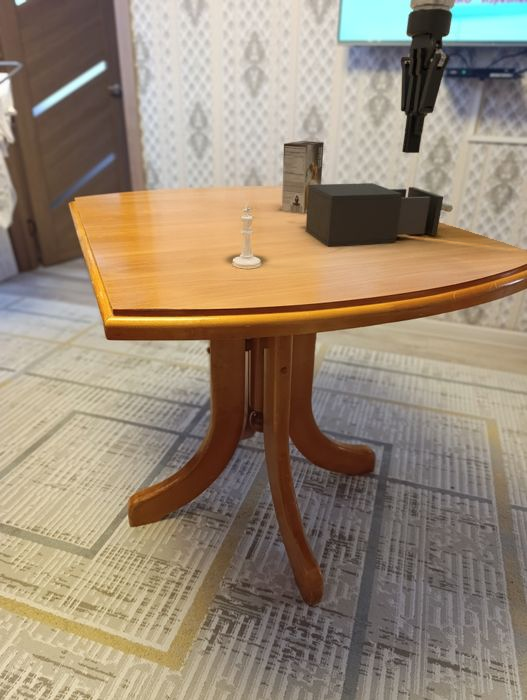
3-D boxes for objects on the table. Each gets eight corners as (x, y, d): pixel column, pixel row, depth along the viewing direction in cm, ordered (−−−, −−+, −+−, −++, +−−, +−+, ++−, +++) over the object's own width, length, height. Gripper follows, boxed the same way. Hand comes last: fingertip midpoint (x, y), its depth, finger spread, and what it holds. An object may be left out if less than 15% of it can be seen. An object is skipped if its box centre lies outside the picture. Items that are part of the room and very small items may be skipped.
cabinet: (367, 228, 113) (372, 183, 108) (395, 243, 102) (402, 193, 98) (305, 231, 109) (308, 184, 105) (327, 246, 98) (332, 195, 94)
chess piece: (226, 264, 87) (225, 204, 82) (246, 258, 90) (246, 200, 86) (247, 270, 84) (247, 209, 80) (266, 264, 87) (268, 205, 83)
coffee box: (297, 207, 131) (300, 140, 124) (320, 210, 129) (324, 142, 121) (280, 213, 124) (283, 142, 117) (304, 216, 121) (308, 144, 114)
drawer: (424, 222, 115) (430, 186, 112) (454, 234, 105) (461, 195, 102) (353, 225, 111) (356, 188, 107) (377, 238, 101) (382, 198, 98)
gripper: (393, 14, 95) (377, 148, 106) (433, 4, 84) (411, 156, 94) (428, 16, 97) (409, 148, 108) (472, 6, 85) (446, 156, 96)
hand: (410, 152), depth 101 cm, fingers closed
